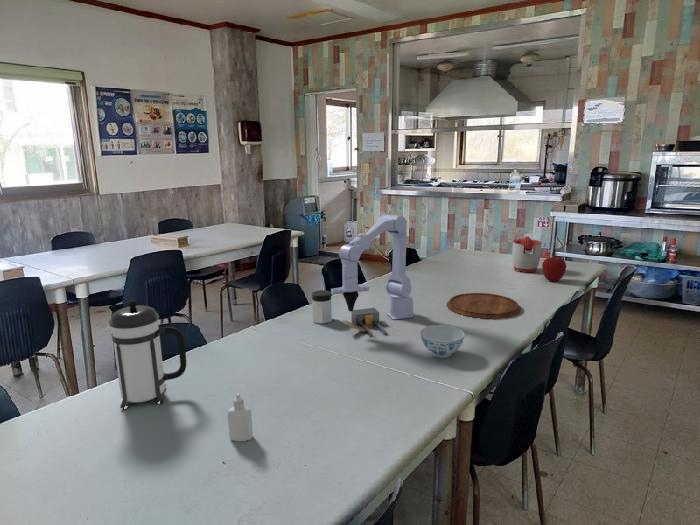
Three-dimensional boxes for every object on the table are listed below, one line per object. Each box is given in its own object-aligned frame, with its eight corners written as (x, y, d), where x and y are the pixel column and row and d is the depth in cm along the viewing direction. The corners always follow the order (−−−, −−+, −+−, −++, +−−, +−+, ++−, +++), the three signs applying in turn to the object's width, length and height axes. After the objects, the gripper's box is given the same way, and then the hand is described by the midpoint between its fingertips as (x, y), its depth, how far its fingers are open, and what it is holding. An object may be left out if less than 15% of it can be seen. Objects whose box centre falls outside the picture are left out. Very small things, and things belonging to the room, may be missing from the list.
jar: (317, 325, 198) (316, 297, 195) (308, 319, 204) (307, 292, 202) (336, 320, 203) (335, 293, 200) (326, 315, 209) (325, 288, 206)
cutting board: (439, 315, 208) (440, 309, 208) (453, 294, 237) (453, 289, 236) (518, 324, 196) (518, 318, 196) (522, 301, 225) (523, 295, 225)
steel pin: (363, 317, 207) (363, 306, 205) (372, 326, 195) (372, 315, 194) (356, 318, 206) (356, 307, 205) (365, 327, 195) (365, 316, 193)
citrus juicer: (513, 274, 271) (515, 239, 266) (508, 266, 288) (510, 233, 283) (543, 275, 268) (545, 239, 264) (536, 267, 285) (539, 234, 280)
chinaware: (436, 341, 179) (437, 322, 177) (472, 353, 169) (473, 332, 167) (411, 354, 169) (411, 333, 167) (447, 367, 158) (448, 345, 157)
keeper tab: (361, 330, 192) (363, 327, 192) (365, 333, 188) (366, 330, 188) (342, 321, 189) (343, 318, 189) (345, 325, 185) (346, 322, 185)
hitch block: (374, 319, 204) (374, 307, 203) (390, 334, 187) (390, 321, 186) (351, 321, 201) (351, 310, 200) (365, 337, 184) (365, 324, 183)
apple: (568, 283, 251) (571, 258, 247) (546, 284, 251) (548, 258, 248) (559, 277, 262) (561, 253, 259) (537, 278, 262) (539, 253, 259)
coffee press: (139, 418, 131) (126, 312, 124) (105, 402, 139) (90, 303, 133) (191, 391, 145) (181, 295, 139) (156, 378, 154) (146, 287, 147)
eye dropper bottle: (239, 430, 125) (236, 387, 122) (255, 437, 122) (252, 393, 119) (226, 438, 121) (223, 395, 118) (242, 445, 118) (239, 401, 115)
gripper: (364, 272, 189) (365, 305, 192) (328, 275, 185) (329, 309, 188) (370, 276, 183) (371, 310, 186) (333, 280, 179) (334, 315, 182)
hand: (350, 310), depth 187 cm, fingers closed
